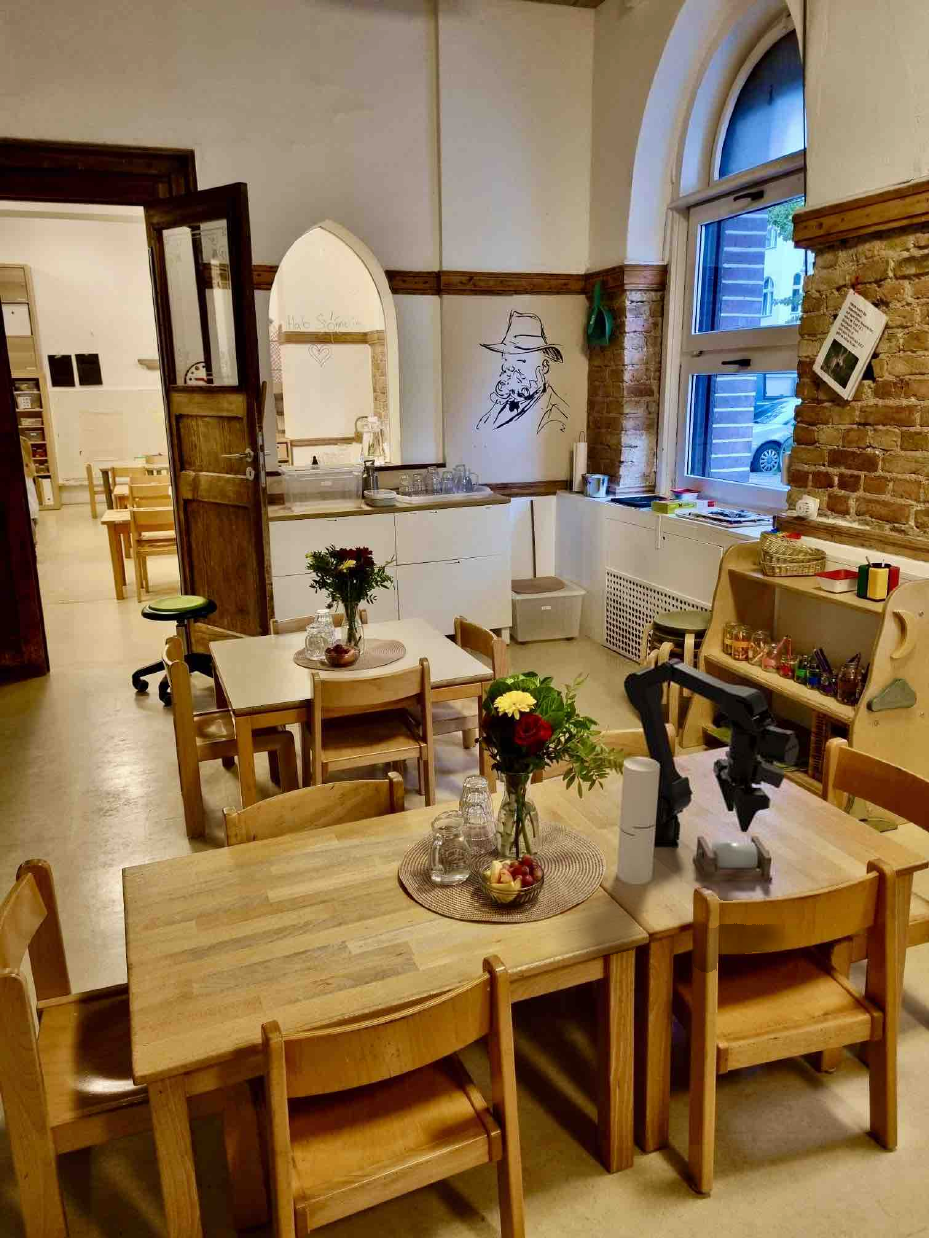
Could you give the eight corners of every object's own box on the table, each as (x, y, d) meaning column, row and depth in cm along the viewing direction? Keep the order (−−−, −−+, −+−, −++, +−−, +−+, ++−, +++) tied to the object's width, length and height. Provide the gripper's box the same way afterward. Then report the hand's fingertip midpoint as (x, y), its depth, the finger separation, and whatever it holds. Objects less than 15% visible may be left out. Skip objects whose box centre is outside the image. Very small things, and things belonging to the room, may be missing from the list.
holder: (702, 881, 189) (704, 857, 187) (691, 859, 197) (693, 836, 196) (773, 881, 189) (776, 857, 187) (759, 859, 198) (761, 836, 196)
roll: (715, 874, 190) (719, 854, 188) (708, 856, 195) (712, 836, 193) (756, 874, 190) (760, 854, 188) (748, 856, 195) (752, 836, 193)
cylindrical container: (651, 886, 187) (659, 772, 180) (616, 881, 188) (623, 769, 182) (651, 868, 193) (659, 758, 187) (617, 864, 195) (624, 755, 188)
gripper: (799, 769, 177) (792, 842, 181) (767, 733, 195) (760, 801, 199) (742, 769, 177) (736, 842, 181) (715, 733, 195) (709, 801, 199)
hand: (737, 821), depth 190 cm, fingers open, 9 cm apart
